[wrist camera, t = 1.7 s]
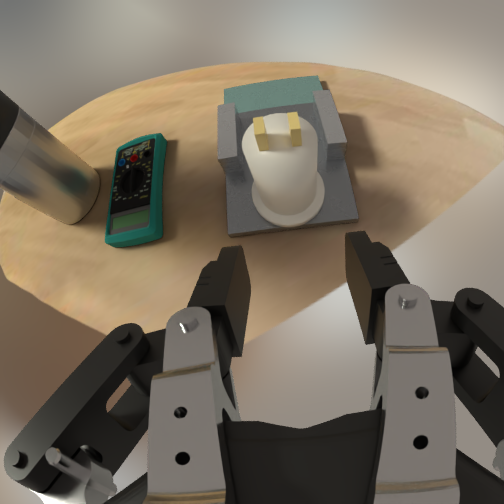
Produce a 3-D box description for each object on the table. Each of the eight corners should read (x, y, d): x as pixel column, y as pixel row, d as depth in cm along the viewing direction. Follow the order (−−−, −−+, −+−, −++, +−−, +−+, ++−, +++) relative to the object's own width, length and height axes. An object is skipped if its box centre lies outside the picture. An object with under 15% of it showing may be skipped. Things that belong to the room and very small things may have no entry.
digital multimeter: (169, 138, 35) (160, 126, 32) (165, 241, 31) (152, 232, 28) (125, 153, 36) (114, 142, 33) (115, 250, 32) (100, 244, 29)
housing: (230, 237, 29) (219, 223, 25) (225, 94, 35) (218, 74, 31) (357, 222, 27) (364, 205, 23) (317, 80, 33) (317, 59, 29)
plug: (255, 231, 28) (225, 174, 17) (251, 169, 30) (223, 97, 19) (329, 222, 26) (340, 159, 16) (317, 160, 28) (317, 84, 18)
